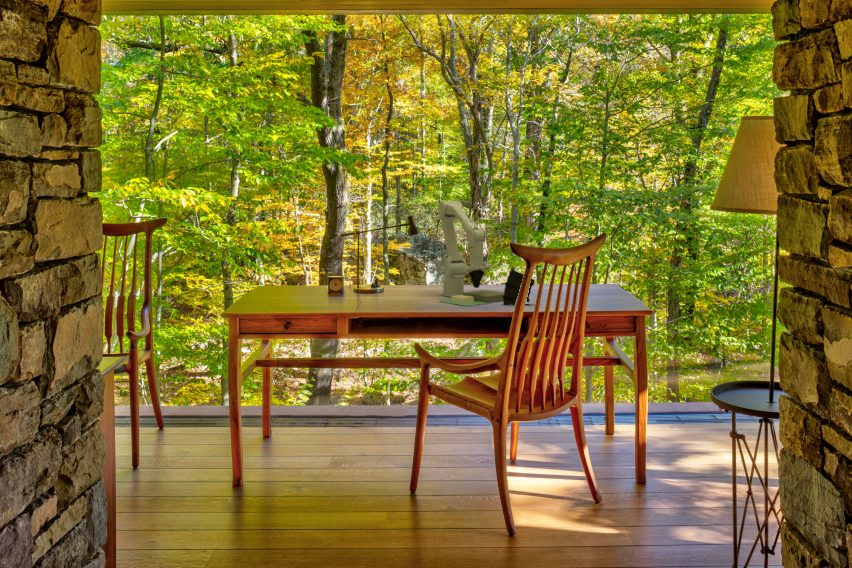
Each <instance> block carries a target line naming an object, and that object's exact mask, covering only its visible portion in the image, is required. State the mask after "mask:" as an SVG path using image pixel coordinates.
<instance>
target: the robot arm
mask: <svg viewBox="0 0 852 568" xmlns="http://www.w3.org/2000/svg"><path fill="white" fill-rule="evenodd" d="M463 207H464V206H463V204H462V202H461V201H460V200H441V201H439V203H438V207H437V211H438V218H439V220H440V222H441V226H442V231H443V236H444V241H445V242H444V243H445V247H446V252H447V258H446V259H444V261H443V273H444V274H445V277H444V279H443V286H442V289H443V291H442V292H443V293H442V294H441V296H442V297H443V296H444V297H450V298H451V296H456V295H463V293H464V292H465V287H464V286H465V285H464V283H465V281H464V279H465V277H466V275H467V274H468V275H469V276H470V278H471V281H472V286H473V288H476V289H479V288H480V284H481V281H482V280H483V276H484V275H485V271H491V268H490V267H491V265H484V243H485V241H486V240H487V232H486V231H485V229H483V228H481V227H479V226H478V225H477V223H475V221H474V220H473V218H469V217H468V215H467V214H466V213H465V211H464V208H463ZM457 219H458V221H459V222H460V223H461V228H462V229H463V231H464V232H465V234H467V240H468V245H469V266H468V264H467V263H466V258H464V257H463V256H461V255H460V250H459V245H458V239H457V235H456V231H455V225H454V222H455V221H456V220H457Z"/></svg>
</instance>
